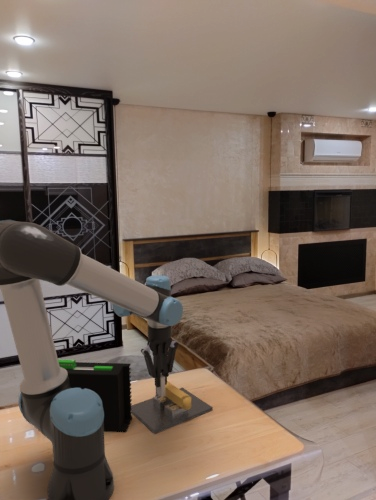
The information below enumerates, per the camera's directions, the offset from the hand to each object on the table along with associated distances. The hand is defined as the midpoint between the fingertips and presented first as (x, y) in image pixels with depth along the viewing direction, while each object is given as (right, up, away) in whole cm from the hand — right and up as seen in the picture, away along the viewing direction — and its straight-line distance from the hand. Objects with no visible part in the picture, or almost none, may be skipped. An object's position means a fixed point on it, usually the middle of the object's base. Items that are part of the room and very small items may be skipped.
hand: (161, 394), depth 130 cm
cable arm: (+4, -4, +2) cm, 6 cm away
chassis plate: (+3, -5, +1) cm, 6 cm away
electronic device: (-23, -7, -4) cm, 25 cm away
